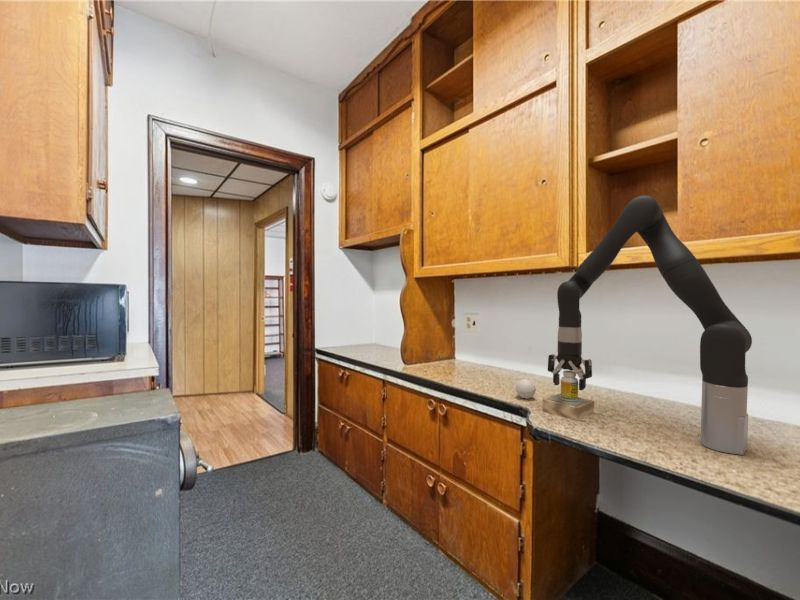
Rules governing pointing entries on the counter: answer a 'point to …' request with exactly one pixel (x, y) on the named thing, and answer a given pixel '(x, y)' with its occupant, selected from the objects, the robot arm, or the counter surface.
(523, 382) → the white egg shape
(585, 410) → the oak riser
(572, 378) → the supplement bottle
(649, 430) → the counter surface
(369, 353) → the counter surface
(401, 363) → the counter surface
